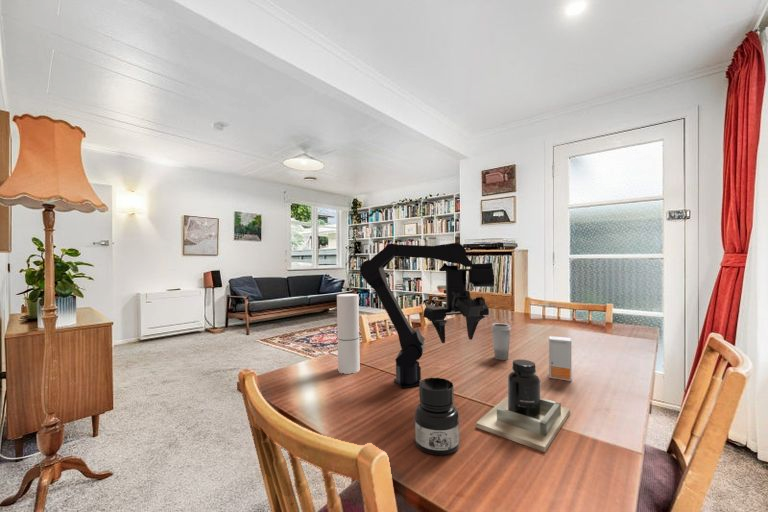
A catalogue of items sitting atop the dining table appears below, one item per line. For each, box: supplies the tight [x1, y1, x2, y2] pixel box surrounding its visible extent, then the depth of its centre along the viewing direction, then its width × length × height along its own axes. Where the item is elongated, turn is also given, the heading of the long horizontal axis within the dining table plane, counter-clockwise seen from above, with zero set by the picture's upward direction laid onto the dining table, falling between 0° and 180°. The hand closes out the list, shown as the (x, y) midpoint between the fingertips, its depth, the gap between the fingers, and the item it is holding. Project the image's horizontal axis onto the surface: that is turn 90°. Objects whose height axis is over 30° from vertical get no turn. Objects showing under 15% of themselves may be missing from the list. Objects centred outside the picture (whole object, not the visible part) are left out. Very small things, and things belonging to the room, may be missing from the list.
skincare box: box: [548, 335, 572, 382], centre depth 99 cm, size 6×4×12 cm
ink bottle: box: [414, 377, 460, 456], centre depth 66 cm, size 10×9×12 cm
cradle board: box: [475, 395, 571, 453], centre depth 74 cm, size 14×20×4 cm
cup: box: [490, 322, 512, 361], centre depth 118 cm, size 7×7×12 cm
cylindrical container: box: [336, 293, 361, 375], centre depth 108 cm, size 7×7×25 cm
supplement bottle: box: [507, 359, 541, 419], centre depth 74 cm, size 7×7×12 cm
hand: (457, 341), depth 93 cm, fingers open, 9 cm apart
